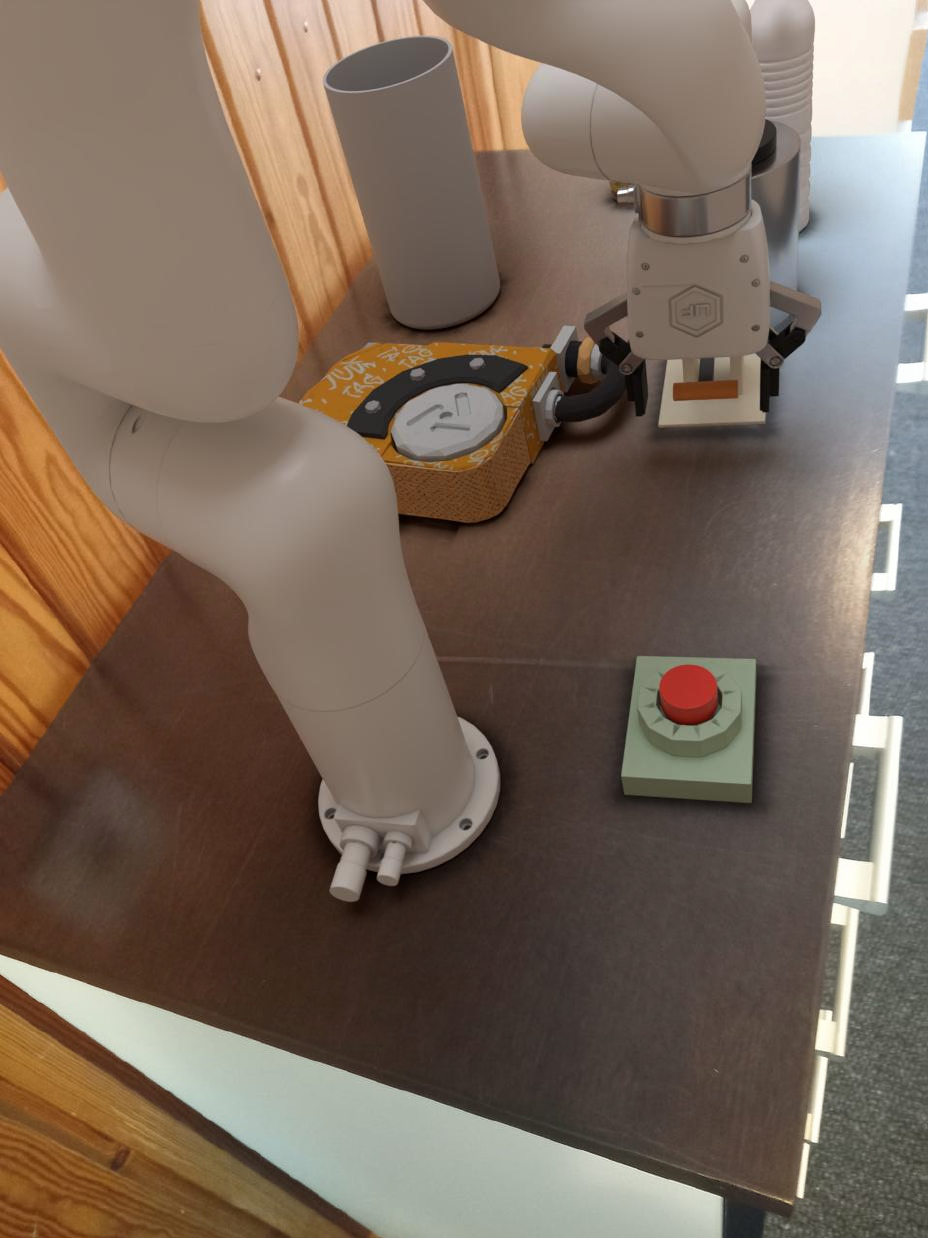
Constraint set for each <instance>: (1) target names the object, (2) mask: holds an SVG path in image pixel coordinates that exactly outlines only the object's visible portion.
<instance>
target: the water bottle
mask: <svg viewBox="0 0 928 1238" xmlns="http://www.w3.org/2000/svg"><path fill="white" fill-rule="evenodd" d="M749 10H750V13H751V24H752V45H753V48H754V51H755V53H756V56H757V59H758V61H759V64H760V68H761V72H762V76H763V80H764V87H765V94H766V116H765V119H767V120H770V121H775V122H779V123H782V124H785V125H787V126H789V127H791V128H792V129H794V130H795V131H796V132H797V133H798V135H799V137H800V139H801V166H800V205H799V233H800V232H801V231H802V230H803V229H806V227H807V226H808V224H809V221H810V194H811V181H810V177H811V159H812V145H811V142H812V135H813V134H812V132H813V131H812V130H813V128H812V121H813V94H814V93H813V92H814V91H813V88H814V87H813V86H814V81H813V79H814V72H813V71H814V59H815V54H814V52H815V44H814V43H815V34H816V16H815V12H814V9H813V6H812V4H811V3H810V1H809V0H754V1H753V3H752V5H751V6H750V8H749Z"/></svg>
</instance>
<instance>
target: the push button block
mask: <svg viewBox="0 0 928 1238" xmlns="http://www.w3.org/2000/svg"><path fill="white" fill-rule="evenodd" d="M686 664H692V665H698V666H701V667H703V668H705V669H707V670H708V671H710V672H711V673H712V674H713V676H714V677H715V679H716V682H717V692H718V706H717V709H716V711H715V713H714V714H713V715H712V716H711V717H710V718H709V719H708V720H706V721H704V722H702V723H699V724H695V725H683V724H679V723H676V722H674V721H672V720H671V719H669V718H668V717H667V716H666V715H665V713H664V712H663V710H662V707H661V700H660V691H659V684H660V681H661V679H662V677H663V676H664V674H665V673H666V672H668V671H669V670H670V669H672V668H674V667H676V666H680V665H686ZM756 694H757V659H756V658H735V657H734V658H728V657H695V656H693V657H692V656H660V655H659V656H657V655H637V656H636V661H635V668H634V675H633V684H632V690H631V698H630V707H629V714H628V721H627V728H626V736H625V744H624V751H623V759H622V765H621V773H620V777H621V783H622V789H623V794H624V795H625V796H637V797H638V796H639V797H640V796H641V797H653V798H654V797H655V798H667V799H668V798H670V799H683V800H684V799H685V800H699V801H711V802H712V801H714V802H726V803H727V802H729V803H744V804H752V802H753V776H754V751H755V749H754V748H755V727H756V726H755V725H756V724H755V722H756V700H757V699H756Z"/></svg>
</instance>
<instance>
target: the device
mask: <svg viewBox="0 0 928 1238" xmlns="http://www.w3.org/2000/svg"><path fill="white" fill-rule="evenodd" d="M576 378H579V380H580V381H581V383H583V384H588V385H592V384H594V383H596V382H598V380H602V381H601V382H600V383H599V384H598V385H597V386H595V387H594V388H593V389H592V390H590V391H589V392H585V393H581V394H576V395H571V396H567V395H566V396H565V394H564V393H568V391H569V389H570V387H571V386H572V384H573V383H574V380H575V379H576ZM625 393H626V384H625V375H624V374H622V373H621V372H620V371H619V366H617V365H616V364H615V363H613V362H612V361H611V360H609V359H608V358H606V357H605V356H604V355H602V354H601V353H600V351H599V347H598V346H597V344H596V343H594V341H593V340H592V339H591V337H590V336H586V337H584V339H583V340H581V341H580V340H579V336H578V330H577V326H576V325H563V326H562V328H561V329H560V331H559V333H558V335H557V336H556V337H555V339H554V341H553V343H552V344H551V343H544V344H542V346H541V347H536V346H533V347H532V346H531V347H529V346H515V345H514V346H513V345H512V346H511V345H497V344H495V345H493V344H478V343H476V344H475V343H463V342H462V343H461V342H443V341H434V342H432V343H430V344H428V345H425V344H407V343H393V342H392V343H391V342H386V343H384V344H383V343H380V342H367V343H366V344H365V345H364V346H363V347H362V348H361V349H359V350H357V351H355V352H352V353H350V354H347V355H345V356H344V357H343V358H341V359H340V360H339V361H337V362H336V363H334V364H333V365H332V366H331V368H330V369H329V370H328V371H327V372H326V374H325V375H324V376H323V377H322V378H321V379H320V381H318V382H317V383H316V384H315V385H313V386H312V387H311V388H309V389H308V390H307V392H306V393H305V394H304V395H303V396H302V397H301V399H300V400H299V401H298V402H297V403H298V404H301V405H303V406H306V407H309V408H311V409H313V410H316V411H318V412H321V413H323V414H325V415H327V416H329V417H331V418H333V419H335V420H337V421H339V422H341V423H343V424H344V425H346V426H347V427H349V428H350V429H352V430H353V431H355V432H356V433H358V434H359V435H360V436H361V437H363V438H364V439H365V440H366V441H367V442H368V443H369V444H371V445H372V446H373V448H374V449H375V450H376V451H377V452H378V453H379V455H380V456H381V457H382V459H383V460H384V462H385V463H386V465H387V467H388V469H389V472H390V474H391V477H392V480H393V482H394V487H395V492H396V498H397V506H398V515H404V516H413V517H422V518H431V519H439V520H440V519H441V520H447V521H453V522H460V523H467V524H468V523H478V522H482V521H485V520H489V519H491V518H493V517H496V516H497V515H499V514H500V513H501V512H502V511H503V510H504V508H505V507H506V506H507V505H508V503H509V501H510V500H511V498H512V496H513V494H514V492H515V491H516V488H517V486H518V484H519V483H520V481H521V479H522V477H523V476H524V474H525V472H526V470H527V468H528V467H529V466H530V465H533V464H534V463H535V461H536V459H537V457H538V455H539V453H540V451H541V449H542V447H543V446H544V443H545V442H548V440H549V439H550V437H551V436H552V433H553V431H554V430H555V428H559V427H560V426H561V423H581V422H585V421H588V420H592V419H595V418H599V417H600V416H602V415H604V414H606V413H607V412H608V411H609V410H610V409H612V408H613V407H614V406H615V405H616V404H617V403H619V401H620V400H621V399H622V398H623V396H624V394H625Z"/></svg>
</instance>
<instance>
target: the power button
mask: <svg viewBox="0 0 928 1238" xmlns="http://www.w3.org/2000/svg"><path fill="white" fill-rule="evenodd" d="M659 691H660V700H661V707H662V710H663V712H664V713H665V715H666V716H667V717H668V718H669V719H671V720H672V721H674V722H676V723H679V724H683V725H695V724H699V723H702V722H704V721H706V720H708V719H709V718H710V717H711V716H712V715H713V714H714V713H715V711H716V709H717V706H718V692H717V682H716V679H715V677H714V676H713V674H712V673H711V672H710V671H708V670H707V669H705V668H703V667H701V666H698V665H692V664H686V665H680V666H676V667H674V668H672V669H670V670H669V671H668V672H666V673H665V674H664V676H663V677H662V679H661V681H660V684H659Z"/></svg>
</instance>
